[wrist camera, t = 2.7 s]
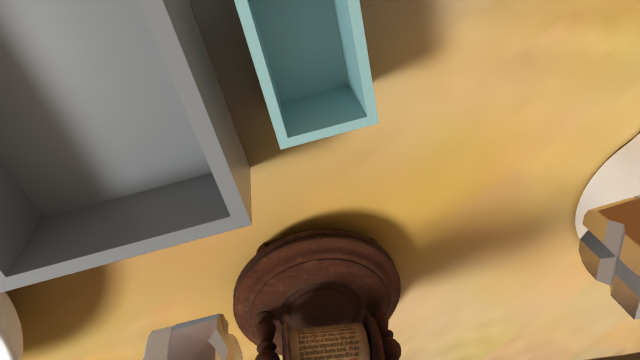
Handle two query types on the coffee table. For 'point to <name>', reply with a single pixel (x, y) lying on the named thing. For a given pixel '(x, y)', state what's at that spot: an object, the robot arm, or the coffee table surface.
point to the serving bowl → (10, 330)
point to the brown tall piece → (319, 298)
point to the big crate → (110, 136)
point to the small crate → (310, 66)
